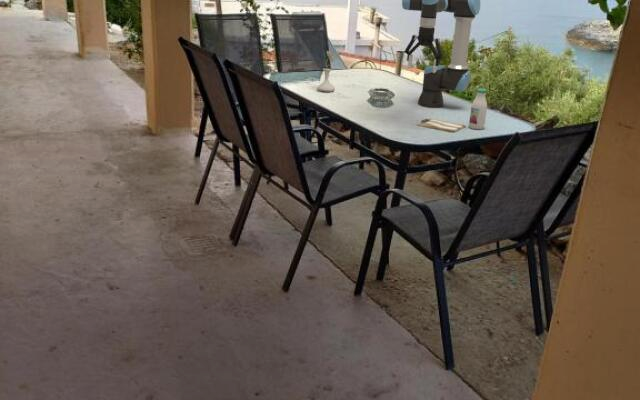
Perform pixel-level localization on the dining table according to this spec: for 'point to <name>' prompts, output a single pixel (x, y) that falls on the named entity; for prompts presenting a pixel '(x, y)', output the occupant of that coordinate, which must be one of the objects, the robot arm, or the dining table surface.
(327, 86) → the flower in vase
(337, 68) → the dining table surface
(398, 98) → the dining table surface
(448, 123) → the clipboard
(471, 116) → the milk bottle
